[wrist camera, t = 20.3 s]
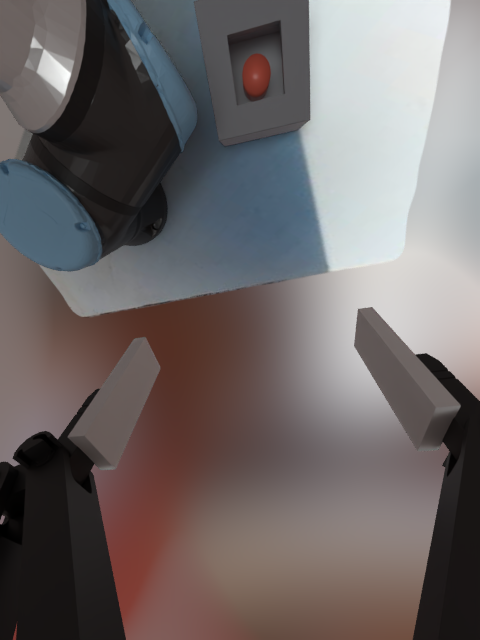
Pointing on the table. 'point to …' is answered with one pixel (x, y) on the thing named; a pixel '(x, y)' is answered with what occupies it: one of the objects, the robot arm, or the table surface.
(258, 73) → the red ball
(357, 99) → the table surface
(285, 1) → the grey box with opening
